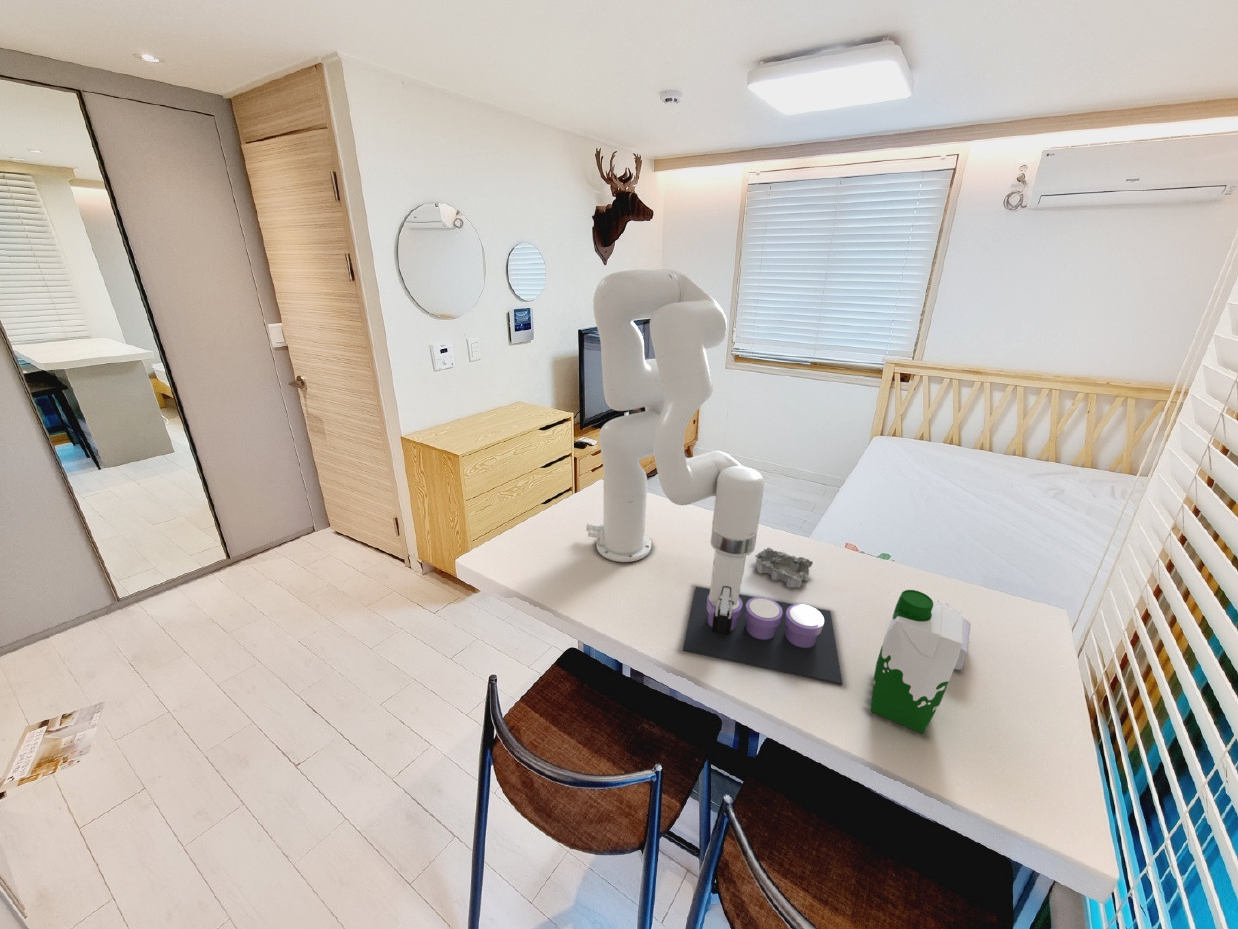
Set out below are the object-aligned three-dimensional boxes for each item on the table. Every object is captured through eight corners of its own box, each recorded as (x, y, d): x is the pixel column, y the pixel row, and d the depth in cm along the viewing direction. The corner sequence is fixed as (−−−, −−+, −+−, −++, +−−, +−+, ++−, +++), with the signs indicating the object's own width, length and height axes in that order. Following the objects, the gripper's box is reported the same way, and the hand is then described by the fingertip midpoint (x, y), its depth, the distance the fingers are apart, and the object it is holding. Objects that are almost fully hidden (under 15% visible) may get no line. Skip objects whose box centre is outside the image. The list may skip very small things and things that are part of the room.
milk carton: (871, 674, 83) (901, 576, 75) (933, 699, 79) (973, 598, 71) (862, 713, 77) (895, 610, 68) (930, 742, 72) (974, 636, 64)
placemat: (682, 650, 87) (682, 649, 87) (695, 587, 103) (696, 586, 103) (842, 684, 81) (842, 683, 81) (830, 612, 97) (830, 610, 97)
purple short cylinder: (702, 629, 92) (705, 608, 90) (706, 607, 97) (709, 586, 95) (738, 637, 90) (741, 615, 88) (740, 613, 96) (743, 593, 94)
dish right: (782, 645, 88) (786, 624, 86) (781, 621, 94) (785, 600, 92) (820, 653, 87) (826, 631, 85) (817, 628, 93) (822, 607, 91)
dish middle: (741, 637, 90) (745, 616, 88) (743, 614, 96) (746, 593, 94) (778, 645, 89) (783, 623, 87) (778, 620, 94) (782, 600, 92)
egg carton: (812, 577, 107) (816, 562, 105) (794, 593, 102) (797, 576, 101) (768, 555, 114) (771, 540, 112) (749, 568, 109) (752, 553, 108)
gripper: (715, 510, 95) (707, 587, 102) (705, 562, 79) (696, 648, 87) (756, 516, 93) (744, 593, 100) (754, 570, 78) (740, 657, 85)
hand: (722, 618), depth 93 cm, fingers closed on purple short cylinder, 6 cm apart
